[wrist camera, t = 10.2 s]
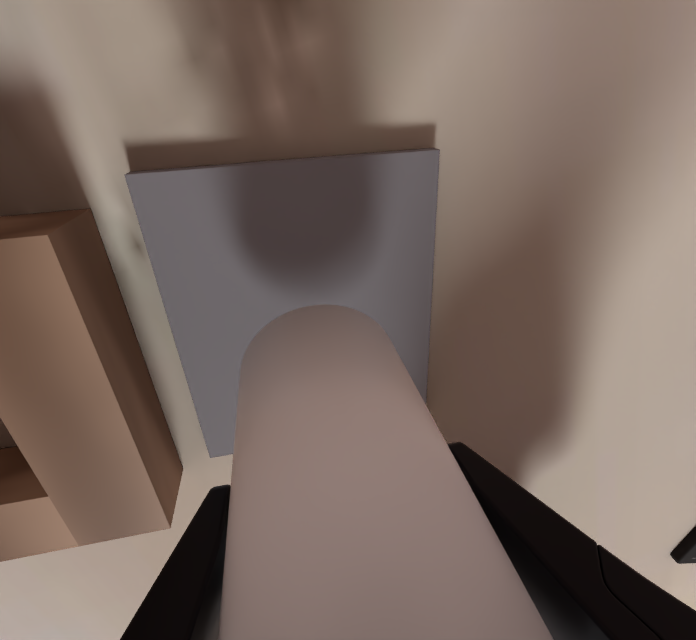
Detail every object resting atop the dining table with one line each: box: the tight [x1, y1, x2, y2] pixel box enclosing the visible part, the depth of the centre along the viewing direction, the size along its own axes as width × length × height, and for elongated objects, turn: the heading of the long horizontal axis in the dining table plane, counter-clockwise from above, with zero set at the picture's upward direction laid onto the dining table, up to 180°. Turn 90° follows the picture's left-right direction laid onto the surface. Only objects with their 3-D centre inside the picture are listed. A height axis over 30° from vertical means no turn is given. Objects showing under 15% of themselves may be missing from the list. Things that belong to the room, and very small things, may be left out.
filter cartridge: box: [218, 304, 553, 640], centre depth 9 cm, size 5×5×10 cm
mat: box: [125, 148, 440, 458], centre depth 16 cm, size 10×12×1 cm
